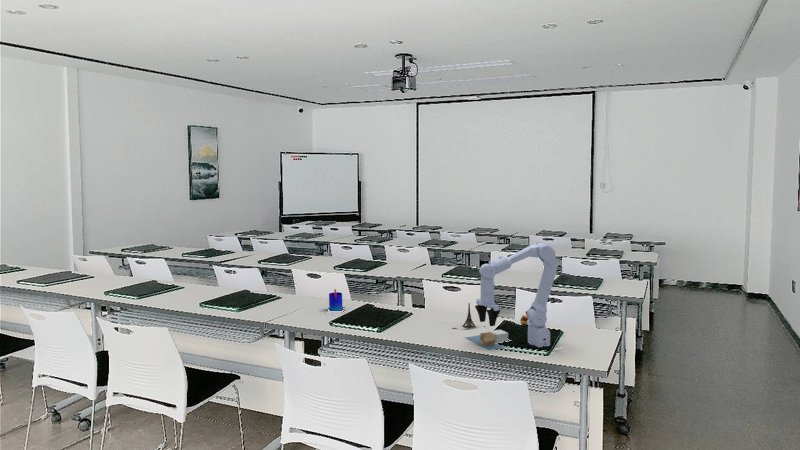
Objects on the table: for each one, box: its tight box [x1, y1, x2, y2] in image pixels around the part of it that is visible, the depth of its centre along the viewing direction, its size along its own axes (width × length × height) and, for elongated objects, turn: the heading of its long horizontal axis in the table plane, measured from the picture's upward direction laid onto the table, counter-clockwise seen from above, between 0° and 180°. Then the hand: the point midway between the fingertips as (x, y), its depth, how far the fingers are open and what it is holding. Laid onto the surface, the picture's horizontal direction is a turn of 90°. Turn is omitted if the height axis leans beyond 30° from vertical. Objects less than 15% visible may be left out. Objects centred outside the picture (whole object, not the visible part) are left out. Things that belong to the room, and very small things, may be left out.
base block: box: [488, 329, 509, 343], centre depth 249 cm, size 6×6×4 cm
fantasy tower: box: [328, 288, 346, 312], centre depth 311 cm, size 12×12×12 cm
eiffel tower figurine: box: [451, 302, 486, 331], centre depth 274 cm, size 15×10×13 cm
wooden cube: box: [479, 331, 495, 346], centre depth 243 cm, size 4×4×4 cm
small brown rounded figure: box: [520, 310, 529, 326], centre depth 277 cm, size 8×10×7 cm
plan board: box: [464, 334, 512, 351], centre depth 248 cm, size 20×16×1 cm
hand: (487, 323), depth 243 cm, fingers open, 7 cm apart
